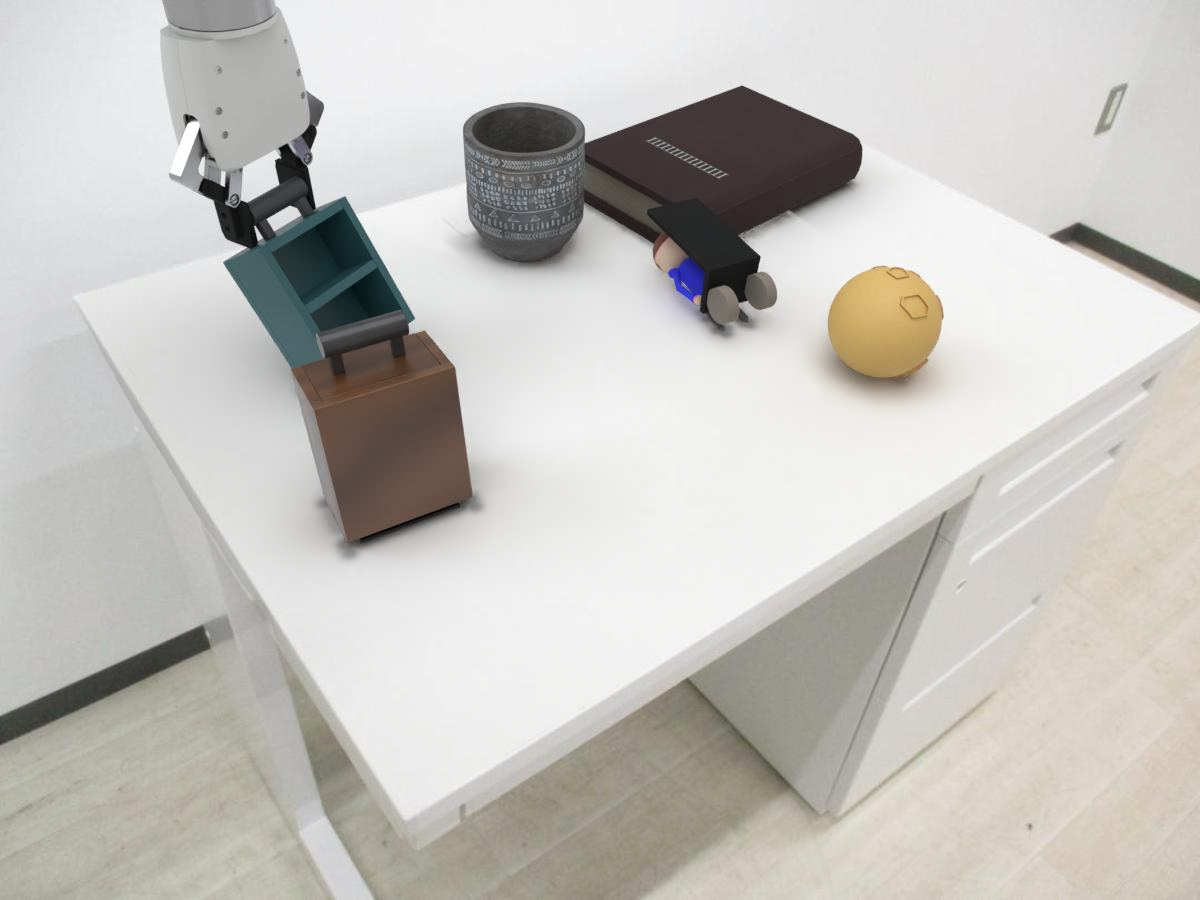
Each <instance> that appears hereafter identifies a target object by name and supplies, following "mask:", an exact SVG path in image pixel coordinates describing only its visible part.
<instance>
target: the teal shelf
mask: <svg viewBox="0 0 1200 900" xmlns="http://www.w3.org/2000/svg"><path fill="white" fill-rule="evenodd" d="M307 194H308V187H307V185H306V183H305V182H304V181H303V180H302V179H301V178H300V177H297V176H295V177H292V178H291V179H289V180H287V181H285V182H283V183H282V184H280V185H279V184H278V185H276V186H274V187H273V188H271V189H269V190H267V191H265V192H263V193H262V194H260V195H258V196H256V197H254V198H253V199H251V200H249V201H246V202H247V203H248V205H249V207H250V211H251V215H252V219H253V223H254V227H255V229H256V230H257V231H258V233H259V234H260V236H261V237H262V238H260V239H259V240H258V243H257V244H258V245H257V246H255V247H254V248H251V249H250V248H247V247H245V248H244V249H242V250H240V251H239V252H237V253H235V254H234V255H232V256H230V257H229V258H227V259H226V260H224V261H223V262H222V264H223V265H224V266H225V269H226V270H227V272H228V273H229V275H230V276H231V278H232V279H233V281H234V282H235V284H236V286H237V287H238V288H239V290H240V292H241V293H242V295H243V296H244V297H245V299H246V301H247V302H248V304H249V305H250V307H251V308H252V310H253V311H254V313H255V314H256V316H257V317H258V319H259V321H260V322H261V324H262V326H263V327H264V329H265V330H266V331H267V333H268V335H269V336H270V337H271V339H272V341H273V342H274V344H275V345H276V347H277V348H278V350H279V352H280V353H281V354H282V356H283V358H284V359H285V361H286V362H287V364H288V365H289V367H290V369H292V368H296V367H299V366H302V365H305V364H309V363H312V362H316V361H319V360H323V359H325V358H324V357H323V356H322V354H321V352H320V349H319V346H318V343H317V339H316V333H318V332H322V331H325V330H329V329H332V328H336V327H340V326H343V325H347V324H351V323H354V322H358V321H361V320H365V319H369V318H372V317H376V316H380V315H383V314H387V313H390V312H394V311H398V310H402V311H403V313H404V314H405V316H406V319H407V322H408V325H409V324H411V323H412V322H413V321H415V320H416V317H415V315H414V313H413V312H412V310H411V309H410V307H409V304H407V301H406V299H405V298H404V296H403V294H402V292H401V290H400V289H399V287H398V286H397V284H396V282H395V280H394V279H393V277H392V275H391V273H390V272H389V270H388V268H387V266H386V264H385V263H384V261H383V260H382V257H381V256H380V254H379V252H378V250H377V248H375V245H374V244H373V242H372V240H371V238H370V237H369V235H368V233H367V232H366V230H365V228H364V226H363V224H362V222H361V221H360V219H359V218H358V216H357V214H356V212H355V211H354V208H353V207H352V205H351V204H350V201H349V200H348V198H347V196H342V197H340V198H336V199H334V200H332V201H330V202H327V203H324V204H323V205H320V206H317V207H316V209H315V210H312V208H311V206H310V205H309V203H308V201H307V199H306V198H305V197H306V196H307ZM292 204H295V206H296V207H297V208H296V209H297V211H298V212H299V214H300V215H299V216H297V217H296V218H294V219H293V220H291V221H289V222H288V223H286V224H284V225H283V226H281V227H279V228H278V229H276V230H274V229H273V227H272V225H271V224H270V222H269V219H270V218H271V217H273V216H275V215H276V214H278V213H279V212H282V211H283V210H285V209H287V208H288V207H291V206H290V205H292ZM381 343H382V342H381ZM374 345H375V344H374ZM367 347H368V346H367Z"/></svg>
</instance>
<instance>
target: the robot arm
mask: <svg viewBox="0 0 1200 900" xmlns="http://www.w3.org/2000/svg"><path fill="white" fill-rule="evenodd" d="M161 2H162V6H163V9H164V13H165V17H166V21H167V24H168V25H166V26H164V27H162V28H160V30H159V44H160V47H159V48H160V59H161V61H160V63H161V70H162V77H163V83H164V88H165V95H166V99H167V105H168V110H169V114H170V118H171V123H172V128H173V131H174V135H175V139H176V142H177V146H178V148H177V151H176V153H175V156H174V158H173V161H172V164H171V166H170V169H169V172H168V178H169V179H170V180H171V181H173V182H175V183H176V184H179V185H181V186H182V187H185V188H187V189H189V190H191V191H192V192H194V193H197V194H199V195H201V196H203V197H204V198H206V199H208V200H211V201H212V202H213V205H214V209H215V212H216V215H217V219H218V223H219V226H220V230H221V233H222V234H223V237H224V238H225V239H226V240H227V241H229V242H232V243H234V244H237V245H240V246H242V247H244V248H250V249H251V248H254V247H255V246H257V245H258V244H257V243H258V241H259V240H258V235H257V231H256V226H254V223H253V219H252V215H251V211H250V207H249V205H248V203H247V202H248V201H244V200H242V189H243V188H242V186H243V175H244V174H243V171H244V167H247V166H248V165H250V164H252V163H254V162H255V161H257V160H259V159H261V158H263V157H265V156H267V155H269V154H270V153H272V152H274V151H275V152H276V153H277V155H278V156H279V157H278V158H276V159H275V160H274V163H275V165H274V168H275V172H276V176H277V181H278V183H279V184H278V185H280V184H282V183H283V182H285V181H287V180H289V179H291V178H292V177H295V176H297V177H300V178H301V179H302V180H303V181H304V182H305V183H306V185H307V187H308V194H307V196H306V197H305V198H306V199H307V201H308V203H309V205H310V206H311V208H312V210H315V209H316V208H317V207H316V206H317V205H316V202H315V196H314V191H313V185H312V182H311V175H310V169H309V167H308V166H310V165H311V164H312V163H313V160H314V154H313V152H312V151H311V150H312V149H313V145H314V143H315V140H316V138H317V133H318V130H317V127H318V126H319V124H320V121H321V118H322V116H323V113H324V110H325V104H324V102H323V101H322V100H320V99H319V98H317V97H316V96H315V95H313V94H312V93H310V92H309V90H307V88H306V85H305V80H304V76H303V73H302V68H301V64H300V61H299V57H298V54H297V50H296V47H295V44H294V41H293V38H292V35H291V32H290V30H289V27H288V24H287V22H286V20H285V19H286V18H285V17H284V14H283V12H282V9H281V8H280V7H279V6H277V5H276V0H161ZM203 158H204V169H203V175H201V173H200V172H199V171H200V170H199V168H200V165H201V162H202V159H203ZM222 172H223V173H225V176H224V185H221V183H222ZM289 207H293V208H295V209H297V207H296V206H295V204H292V205H290V206H289Z"/></svg>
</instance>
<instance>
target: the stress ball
mask: <svg viewBox="0 0 1200 900" xmlns="http://www.w3.org/2000/svg"><path fill="white" fill-rule="evenodd" d="M827 315H828V316H827V332H828V338H829V341H830V344H831V346H832V349H833V350H834V352H835V354H836V355H837V357H838V358H839V359H840V360H841V361H842V362H843V363H844V364H845V365H846V366H848V367H849V368H850V369H852V370H853V371H854V372H857V373H860V374H861V375H865V376H867V377H873V378H884V379H885V378H893V377H897V379H901V378H905V377H908V376H910V375H912V374H914V373H916V372H917V371H919V370H920V369H921V368H923V367H924V366H925V365H926V364H927V363H928V362H929V356H930V355H931V354H932V352H933V351H934V349H935V348H936V345H937V344H938V342H939V340H940V335H941V332H942V327H943V320H944V317H945V316H944V315H945V314H944V308H943V304H942V301H941V298H940V297H939V295H938V294H936V293H935V292H934V290H933V289H932V286H930V285H929V284H928V283H927V282H926V281H925V280H924V279H923V278H922V276H921V275H920V274H919V273H917V272H915V271H914V270H909V269H908V270H907V269H905V268H904V267H899V266H887V265H878V266H877V265H876V266H874V267H871V268H870V269H867V270H865V271H862V272H860V273H858V274H856V275H855V276H853V277H851V278H850V279H849V280H848V281H847V282H846V283H844V284H843V286H842V287H841V288H840V289H839V290H838V292H837V293H836V294H835V296H834V298H833V300H832V302H831V304H830V307H829V310H828V314H827Z"/></svg>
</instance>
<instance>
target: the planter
mask: <svg viewBox="0 0 1200 900" xmlns="http://www.w3.org/2000/svg"><path fill="white" fill-rule="evenodd" d="M462 140H463V157H464V171H465V182H466V205H467V215H468V219H469V221H470V223H471V224H472V226H473V228H474V229H475V231H476V232H477V234H478V235H479V237H480V238H481V239H482V240H483V241H484V242H485V244H486V245H487V246H488V247H489V248H490V250H491V251H492V252H494V253H495V254H496V255H497V256H499V257H502V258H504V259H507V260H510V261H515V262H524V263H525V262H526V263H527V262H528V263H529V262H537V261H538V262H539V261H543V260H544V261H545V260H547V259H551V258H552V257H554V256H556V255H557V254H559V253H561V251H562V250H563V249H564V247H566V245H567V243H568V242H569V241H570V240H571V238H572V237H573V235H574V234H575V233H576V232H577V230H578V228H579V227H580V225H581V223H582V221H583V219H584V211H585V202H584V170H585V143H586V127H585V124H584V123H583V122H582V120H581V119H580V118H579V117H578V116H576V115H575V114H574V113H571V112H570V111H569V110H566V109H563V108H560V107H556V106H553V105H549V104H544V103H538V102H529V101H527V102H526V101H524V102H523V101H518V102H516V101H515V102H507V103H506V102H505V103H500V104H495V105H492V106H489V107H486V108H484V109H481V110H479V111H477V112H476V113H474V114H471V116H470V117H468V118H467V120H465V122H464V124H463V126H462Z"/></svg>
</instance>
